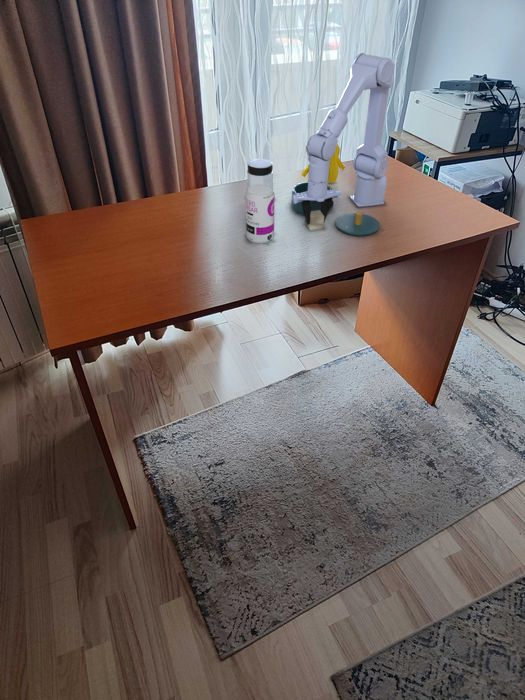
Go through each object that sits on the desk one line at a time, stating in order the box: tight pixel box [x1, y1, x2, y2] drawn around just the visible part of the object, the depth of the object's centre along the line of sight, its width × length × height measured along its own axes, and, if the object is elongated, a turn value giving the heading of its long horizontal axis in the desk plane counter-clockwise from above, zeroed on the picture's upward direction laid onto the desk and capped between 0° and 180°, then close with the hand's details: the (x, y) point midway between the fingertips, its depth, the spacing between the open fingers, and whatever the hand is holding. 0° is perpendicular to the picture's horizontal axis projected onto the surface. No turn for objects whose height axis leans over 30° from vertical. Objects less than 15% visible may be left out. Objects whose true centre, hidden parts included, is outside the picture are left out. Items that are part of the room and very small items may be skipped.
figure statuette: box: [300, 143, 346, 184], centre depth 164 cm, size 18×8×22 cm, turn 113°
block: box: [305, 210, 325, 231], centre depth 146 cm, size 4×4×4 cm
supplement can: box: [245, 184, 276, 245], centre depth 137 cm, size 8×8×15 cm
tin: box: [291, 181, 333, 216], centre depth 155 cm, size 13×13×6 cm
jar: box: [246, 158, 274, 191], centre depth 157 cm, size 9×8×12 cm
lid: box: [335, 210, 381, 237], centre depth 145 cm, size 14×14×4 cm
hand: (314, 222), depth 146 cm, fingers closed on block, 4 cm apart
